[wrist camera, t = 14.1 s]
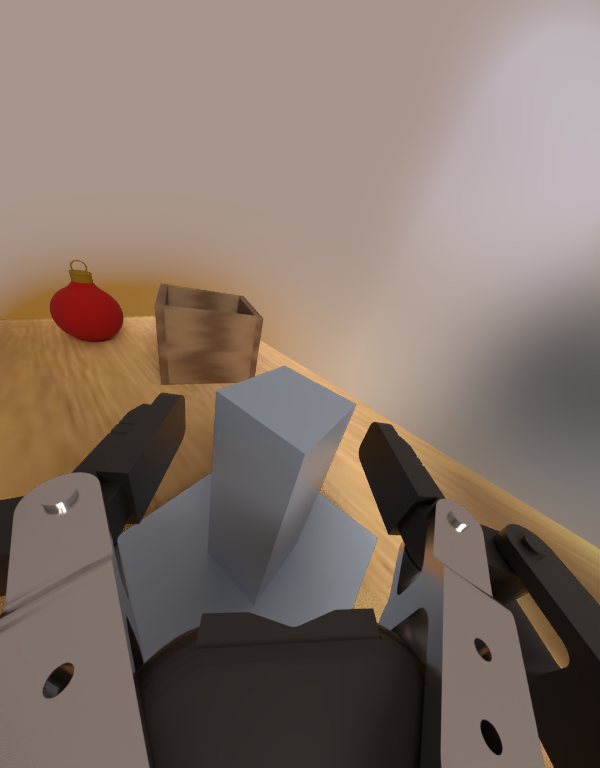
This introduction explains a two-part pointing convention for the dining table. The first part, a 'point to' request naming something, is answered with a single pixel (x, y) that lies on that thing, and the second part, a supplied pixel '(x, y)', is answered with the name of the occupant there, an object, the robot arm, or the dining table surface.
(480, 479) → the dining table surface
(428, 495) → the robot arm
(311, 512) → the lid
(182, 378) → the block
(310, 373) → the dining table surface
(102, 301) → the christmas ornament
